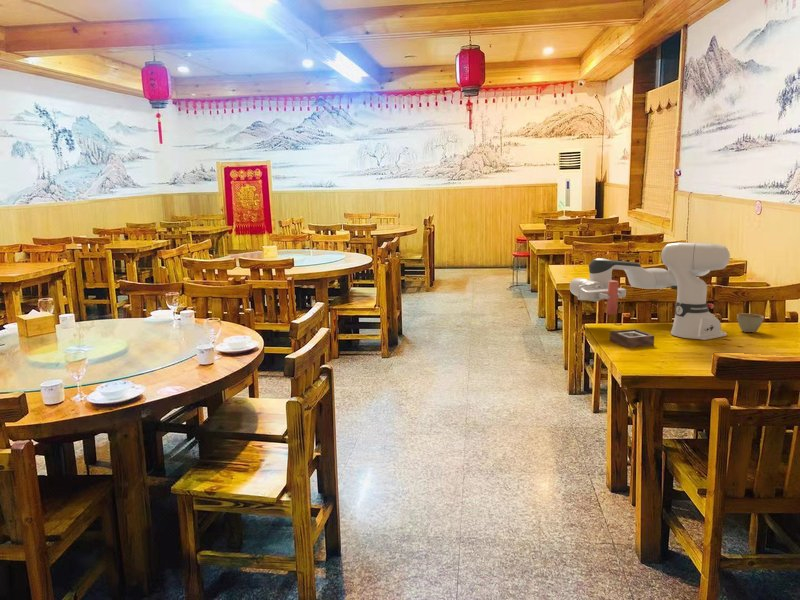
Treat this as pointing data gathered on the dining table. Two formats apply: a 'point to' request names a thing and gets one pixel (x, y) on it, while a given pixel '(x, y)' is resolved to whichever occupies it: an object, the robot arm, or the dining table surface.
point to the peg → (612, 297)
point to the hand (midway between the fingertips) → (613, 296)
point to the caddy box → (631, 338)
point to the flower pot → (749, 322)
